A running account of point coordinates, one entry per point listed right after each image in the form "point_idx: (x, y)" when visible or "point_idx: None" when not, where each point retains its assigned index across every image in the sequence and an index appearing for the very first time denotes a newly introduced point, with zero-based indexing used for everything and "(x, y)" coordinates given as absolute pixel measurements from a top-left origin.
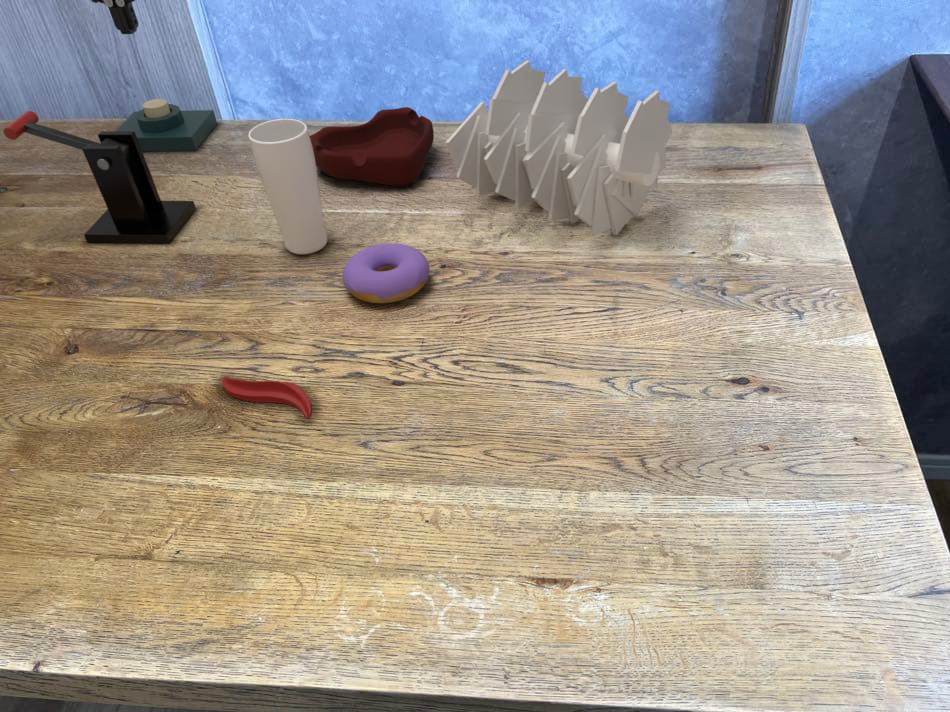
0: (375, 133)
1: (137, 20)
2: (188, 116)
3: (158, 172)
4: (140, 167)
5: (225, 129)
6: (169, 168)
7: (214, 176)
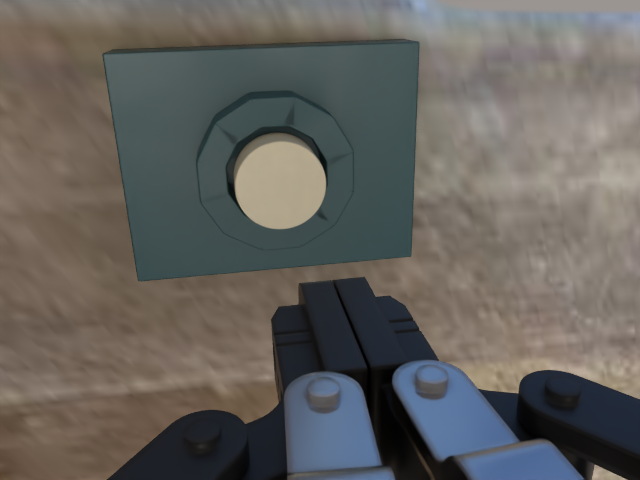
0: None
1: (410, 316)
2: (345, 102)
3: None
4: None
5: (444, 88)
6: None
7: (488, 364)
